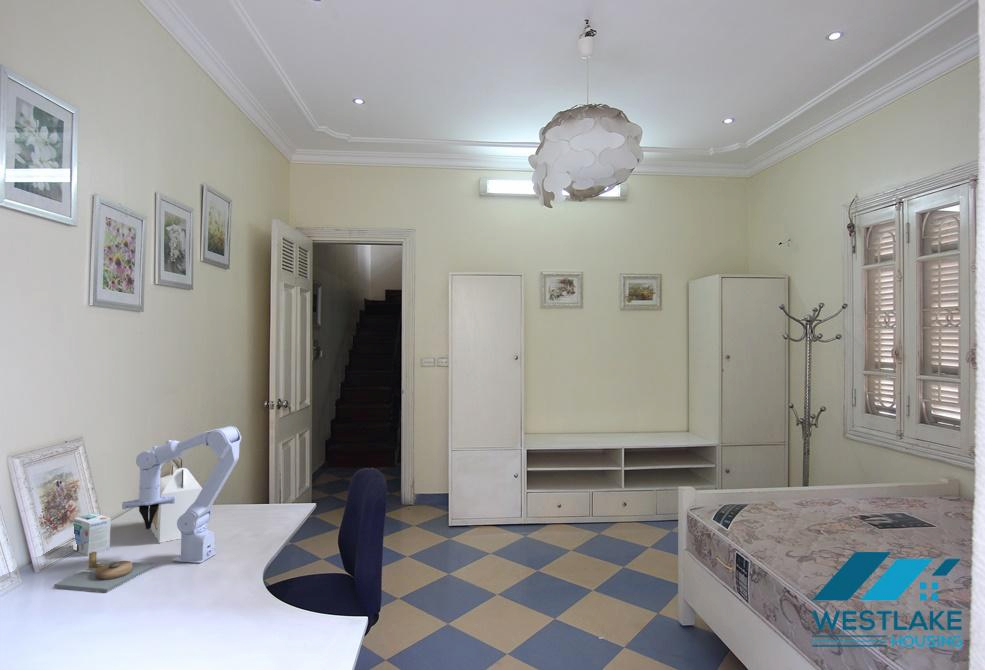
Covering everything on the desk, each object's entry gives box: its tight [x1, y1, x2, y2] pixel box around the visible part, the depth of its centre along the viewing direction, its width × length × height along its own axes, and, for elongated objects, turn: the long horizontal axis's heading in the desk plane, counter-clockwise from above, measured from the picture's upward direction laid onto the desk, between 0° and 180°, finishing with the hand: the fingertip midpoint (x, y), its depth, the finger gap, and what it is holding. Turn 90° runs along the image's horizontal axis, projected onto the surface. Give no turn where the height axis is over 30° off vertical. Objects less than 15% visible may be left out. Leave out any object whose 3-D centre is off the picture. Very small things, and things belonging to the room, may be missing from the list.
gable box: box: [150, 457, 203, 544], centre depth 196 cm, size 22×13×28 cm, turn 41°
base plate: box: [53, 560, 155, 593], centre depth 156 cm, size 17×17×1 cm
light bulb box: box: [72, 512, 112, 557], centre depth 177 cm, size 11×7×11 cm, turn 62°
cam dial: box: [88, 552, 133, 580], centre depth 157 cm, size 12×9×6 cm
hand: (148, 527), depth 172 cm, fingers closed
